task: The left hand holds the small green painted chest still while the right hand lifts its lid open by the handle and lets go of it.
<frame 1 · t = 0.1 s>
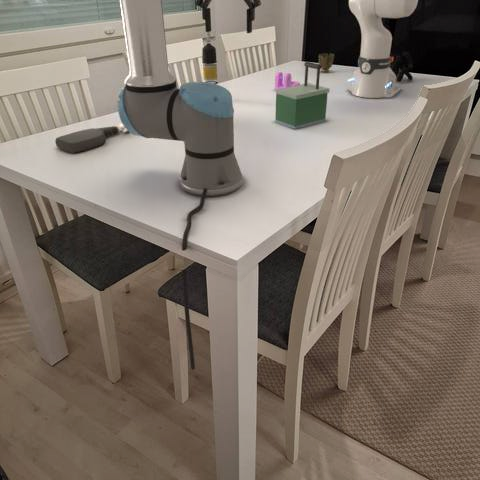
left hand: (228, 32, 139), 28 cm above the table, tool pointing down, fingers open, 13 cm apart
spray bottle: (99, 140, 139), on the table
cup: (325, 72, 218), on the table
squiggle: (399, 80, 200), on the table
bracket: (288, 88, 192), on the table
lid: (303, 78, 144), point 14 cm above the table, hinge at 0.0°
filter: (211, 98, 179), on the table
chest: (300, 121, 152), on the table
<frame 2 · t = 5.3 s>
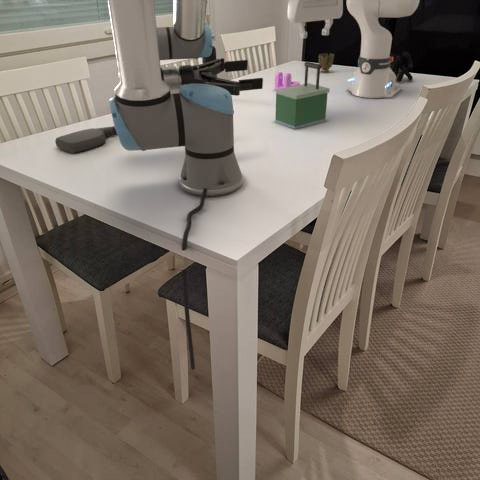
left hand: (254, 73, 124), 20 cm above the table, tool horizontal, fingers open, 13 cm apart
right hand: (314, 36, 140), 26 cm above the table, tool pointing down, fingers open, 8 cm apart
nothing on the table moved.
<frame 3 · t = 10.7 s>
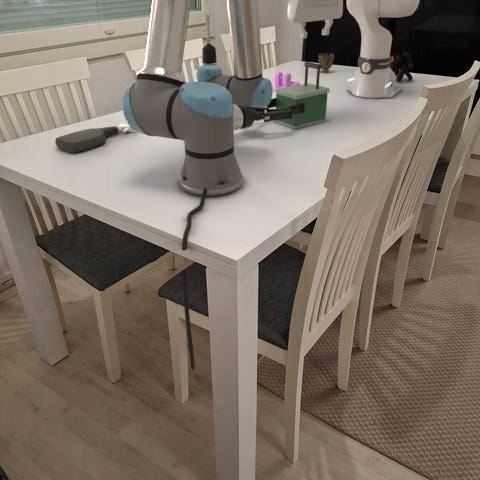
left hand: (292, 104, 146), 6 cm above the table, tool horizontal, fingers closed on chest, 10 cm apart
right hand: (314, 36, 140), 26 cm above the table, tool pointing down, fingers open, 8 cm apart
chest: (300, 121, 152), on the table, touching left hand
everything else where it was.
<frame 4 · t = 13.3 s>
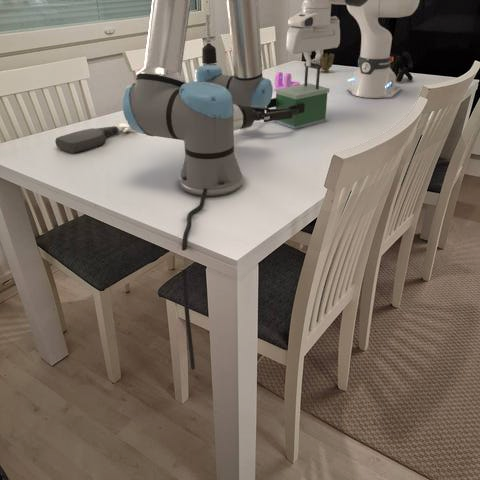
left hand: (292, 104, 146), 6 cm above the table, tool horizontal, fingers closed on chest, 10 cm apart
right hand: (312, 65, 144), 18 cm above the table, tool pointing down, fingers closed on lid
lid: (303, 79, 144), point 14 cm above the table, hinge at 0.0°, touching right hand
chest: (300, 121, 152), on the table, touching left hand
everything else where it was.
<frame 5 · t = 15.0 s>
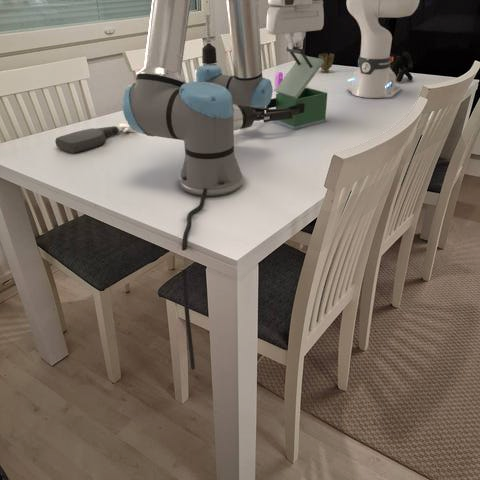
left hand: (292, 104, 146), 6 cm above the table, tool horizontal, fingers closed on chest, 10 cm apart
right hand: (294, 48, 137), 24 cm above the table, tool pointing down, fingers closed, pressing on lid
lid: (293, 68, 140), point 18 cm above the table, hinge at 42.2°, touching right hand
chest: (300, 121, 152), on the table, touching left hand
everything else where it was.
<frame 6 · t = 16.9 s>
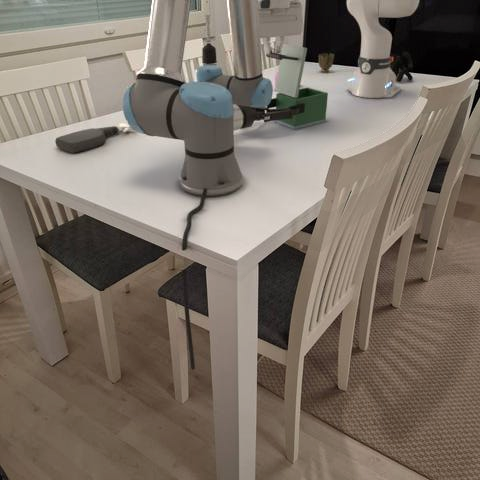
left hand: (292, 104, 146), 6 cm above the table, tool horizontal, fingers closed on chest, 10 cm apart
right hand: (272, 53, 133), 23 cm above the table, tool pointing down, fingers closed
lid: (281, 69, 138), point 18 cm above the table, hinge at 78.7°, touching right hand
chest: (300, 121, 152), on the table, touching left hand
everything else where it was.
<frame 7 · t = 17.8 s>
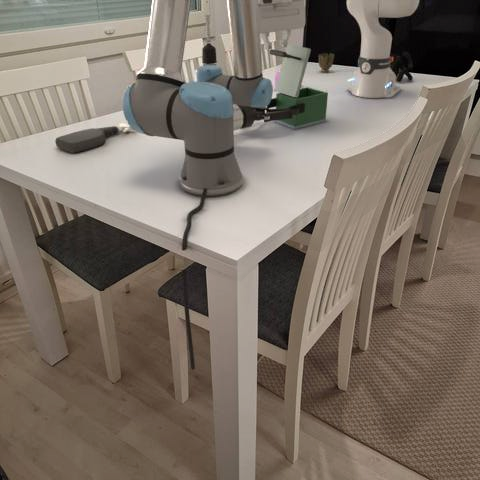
left hand: (292, 104, 146), 6 cm above the table, tool horizontal, fingers closed on chest, 10 cm apart
right hand: (275, 47, 133), 24 cm above the table, tool pointing down, fingers open, 5 cm apart
lid: (283, 68, 138), point 18 cm above the table, hinge at 72.1°
chest: (300, 121, 152), on the table, touching left hand
everything else where it was.
when the left hand's fingers open (6 cm above the table, at t = 20.8 s): chest stays where it is, on the table.
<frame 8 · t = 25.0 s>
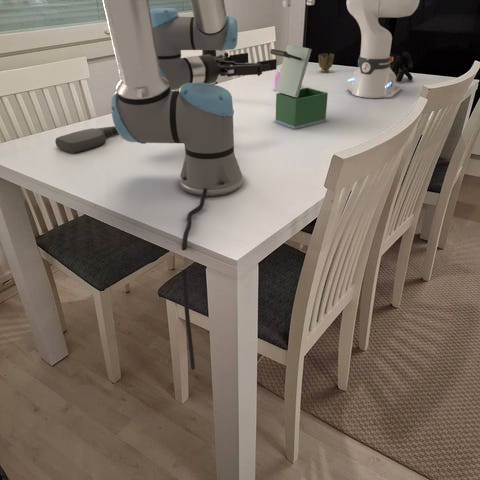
left hand: (261, 60, 132), 22 cm above the table, tool horizontal, fingers open, 13 cm apart
right hand: (298, 6, 132), 35 cm above the table, tool pointing down, fingers open, 8 cm apart
lid: (283, 68, 138), point 18 cm above the table, hinge at 71.1°
chest: (300, 121, 152), on the table
everything else where it was.
at the end: lid at +71° (first picture: +0°); the left hand is holding nothing; the right hand is holding nothing; chest tilted 0°; chest never tilted more than 1° during the clip; chest moved 0.1 cm from its start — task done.
